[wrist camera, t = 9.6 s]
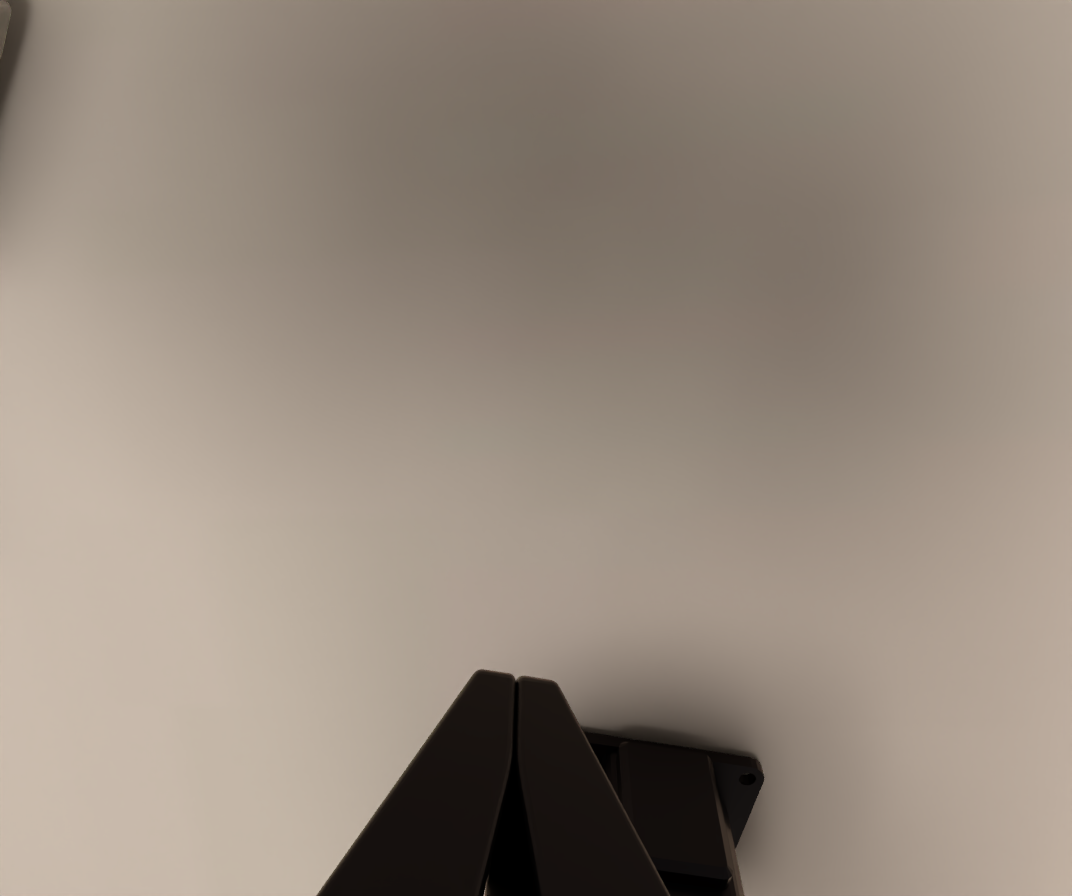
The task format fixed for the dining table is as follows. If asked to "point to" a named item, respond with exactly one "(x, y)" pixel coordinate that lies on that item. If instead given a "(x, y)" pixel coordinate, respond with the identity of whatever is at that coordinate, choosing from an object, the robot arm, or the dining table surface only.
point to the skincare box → (4, 22)
